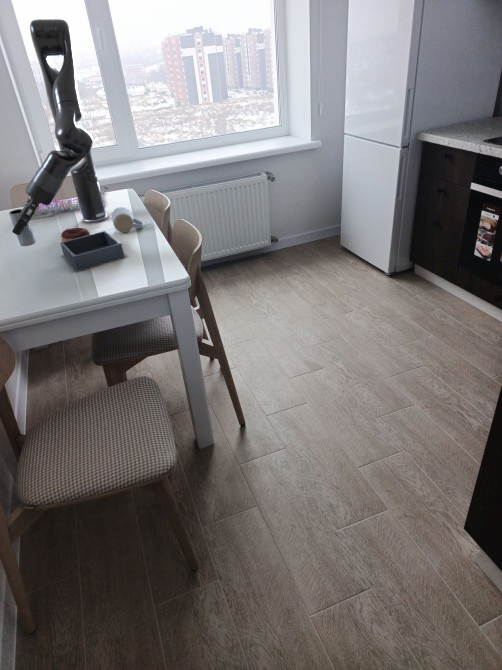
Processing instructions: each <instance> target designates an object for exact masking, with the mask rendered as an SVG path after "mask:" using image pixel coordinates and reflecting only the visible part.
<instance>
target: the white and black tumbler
mask: <svg viewBox="0 0 502 670" xmlns="http://www.w3.org/2000/svg"><path fill="white" fill-rule="evenodd" d="M22 210H23V208H18V209H13V210H11V211H9V212H8V214H9V215H8V216H9V217H10V220H11V223H12V226H13V228H14V227H15V225H16V224H17V222H18V219H19V218H20V217H21V211H22ZM24 211H25V210H24ZM22 220H24V221H25V222H26V221H27V220H26V219H24V218H22ZM33 232H34V231H33V228H32V226H31V224H30V221H29V222H28V225H27V226H25V227H24V229H23V230H22V232H21V233H20V235H16V237H17V240H18V242H19V245H20V247H30V246H34V245H35V244H36V243H37V242H36V238H35V236H34V233H33Z"/></svg>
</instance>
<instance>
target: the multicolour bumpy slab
mask: <svg viewBox="0 0 502 670" xmlns="http://www.w3.org/2000/svg"><path fill="white" fill-rule="evenodd" d="M39 205H40V209H39V210H38V212H37V213H35V216H36V219H38V218H39V219H40V218H42V217H43V214H46V213H47V215H44V218H46V217H51V216H53V215H54V214H55V215H56V214H57V213H61V212H62V213H63V212H65V211H69V212H71V211H76V210H78V211H79V210H80V211H81V209H80V205H79V202H78V198H77V197H76V198H67V199H64V200H63V199H53V200H52V202H51V203H50V205H44V204H42V203H39ZM52 212H55V213H52ZM35 216H34V217H33V218H32V219H35Z"/></svg>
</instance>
